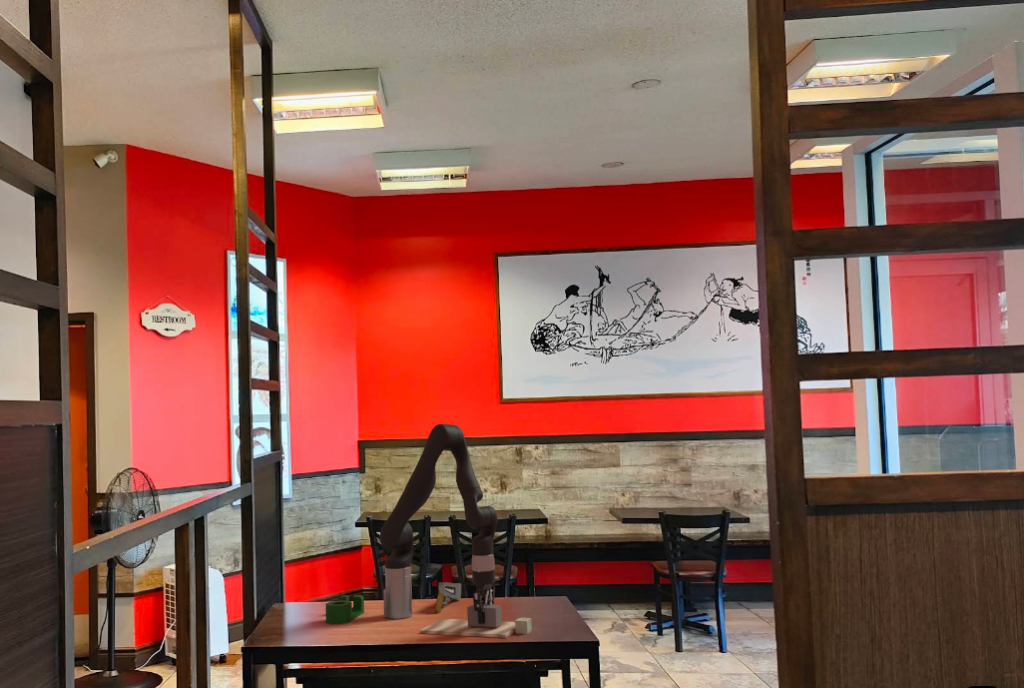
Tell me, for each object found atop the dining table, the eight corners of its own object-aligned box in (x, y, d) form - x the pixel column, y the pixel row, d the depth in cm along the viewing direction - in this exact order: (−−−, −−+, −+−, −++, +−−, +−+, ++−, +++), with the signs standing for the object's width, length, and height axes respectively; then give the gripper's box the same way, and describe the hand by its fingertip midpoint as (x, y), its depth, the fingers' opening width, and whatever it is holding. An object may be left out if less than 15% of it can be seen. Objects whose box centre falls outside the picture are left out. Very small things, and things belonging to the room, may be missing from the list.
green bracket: (346, 624, 274) (346, 605, 274) (321, 625, 275) (321, 606, 276) (364, 613, 291) (363, 595, 292) (340, 613, 293) (340, 595, 293)
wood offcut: (515, 633, 252) (515, 620, 252) (519, 630, 255) (519, 617, 256) (527, 634, 250) (526, 621, 251) (531, 631, 254) (531, 618, 255)
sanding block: (467, 626, 257) (467, 607, 258) (473, 622, 262) (473, 603, 263) (496, 627, 254) (495, 608, 254) (501, 623, 258) (501, 605, 259)
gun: (460, 623, 304) (463, 583, 311) (439, 612, 283) (443, 570, 290) (452, 623, 305) (455, 583, 312) (431, 612, 284) (435, 570, 291)
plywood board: (420, 633, 257) (419, 630, 257) (441, 621, 272) (441, 618, 272) (506, 637, 246) (506, 634, 246) (523, 625, 261) (523, 622, 261)
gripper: (481, 564, 268) (482, 616, 266) (464, 571, 254) (465, 626, 252) (501, 564, 265) (503, 617, 263) (485, 572, 252) (487, 627, 250)
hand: (484, 621), depth 258 cm, fingers closed on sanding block, 5 cm apart
